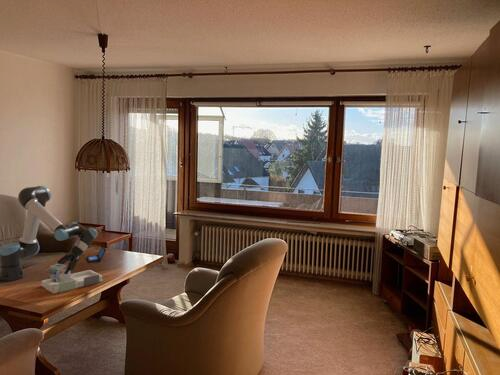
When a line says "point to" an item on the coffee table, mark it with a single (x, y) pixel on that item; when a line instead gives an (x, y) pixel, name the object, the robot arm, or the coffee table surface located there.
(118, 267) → the coffee table surface
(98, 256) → the handheld game console
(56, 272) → the light bulb box
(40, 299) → the coffee table surface
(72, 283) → the tagged dock
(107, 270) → the coffee table surface
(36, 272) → the coffee table surface
